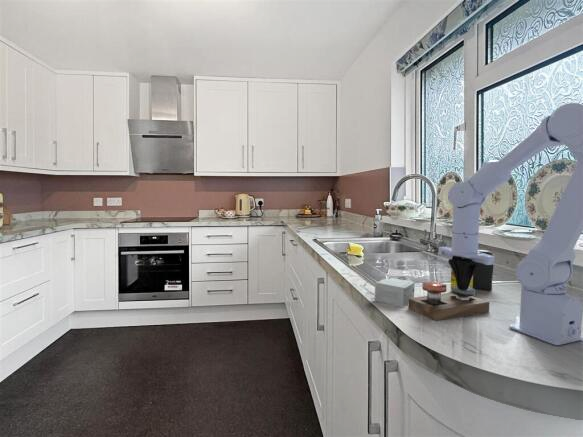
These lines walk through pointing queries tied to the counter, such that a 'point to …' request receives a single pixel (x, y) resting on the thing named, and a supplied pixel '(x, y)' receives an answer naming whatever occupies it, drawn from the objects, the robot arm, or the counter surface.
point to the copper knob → (434, 291)
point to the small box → (394, 291)
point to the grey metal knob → (463, 293)
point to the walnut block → (448, 307)
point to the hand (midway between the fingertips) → (462, 288)
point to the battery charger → (483, 275)
